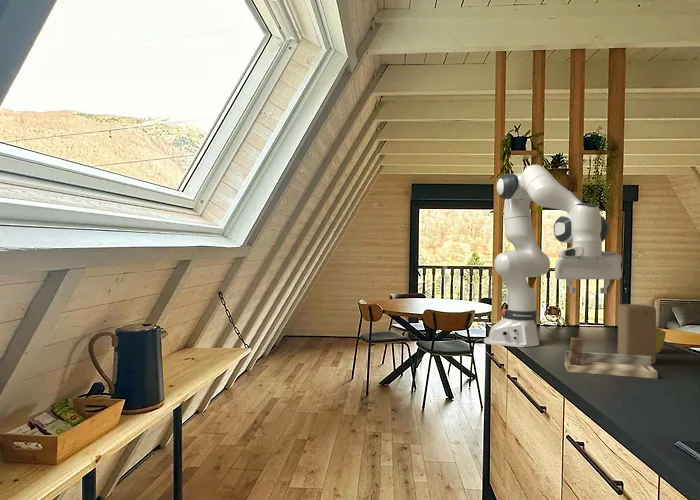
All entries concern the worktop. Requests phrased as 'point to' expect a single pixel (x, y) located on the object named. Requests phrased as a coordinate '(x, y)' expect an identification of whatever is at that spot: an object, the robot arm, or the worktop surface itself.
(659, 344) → the flower pot
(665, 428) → the worktop surface
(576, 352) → the marking gauge
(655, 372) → the board
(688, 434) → the worktop surface
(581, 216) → the robot arm
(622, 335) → the wooden block
